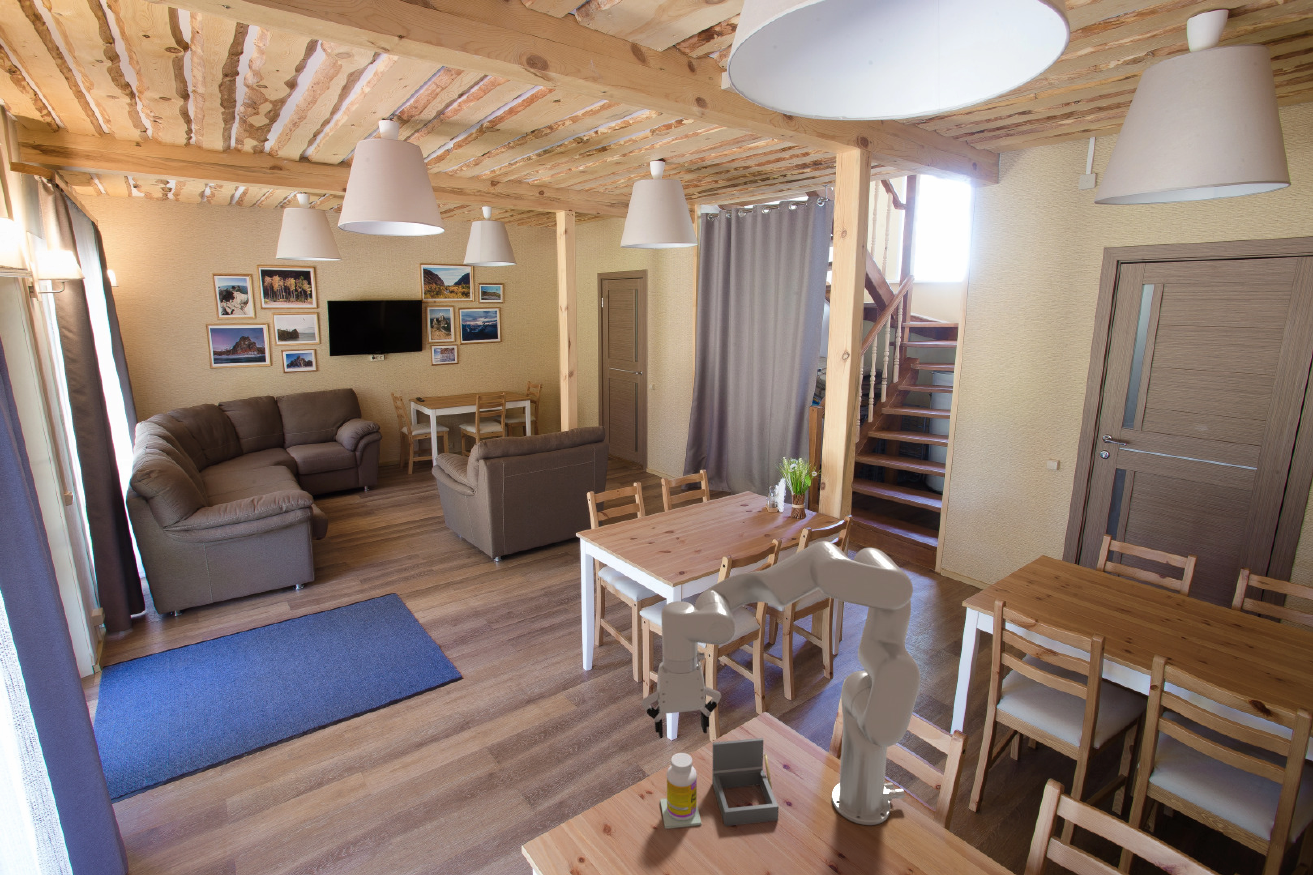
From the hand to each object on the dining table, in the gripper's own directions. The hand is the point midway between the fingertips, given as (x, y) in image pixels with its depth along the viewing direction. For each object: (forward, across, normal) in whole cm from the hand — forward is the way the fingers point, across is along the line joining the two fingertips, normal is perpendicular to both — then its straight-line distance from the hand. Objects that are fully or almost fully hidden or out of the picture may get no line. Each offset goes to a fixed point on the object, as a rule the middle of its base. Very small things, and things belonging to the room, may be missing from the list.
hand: (682, 731), depth 139 cm
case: (+21, -14, -1) cm, 25 cm away
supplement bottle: (+20, +1, 0) cm, 20 cm away
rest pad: (+20, +1, 0) cm, 20 cm away
